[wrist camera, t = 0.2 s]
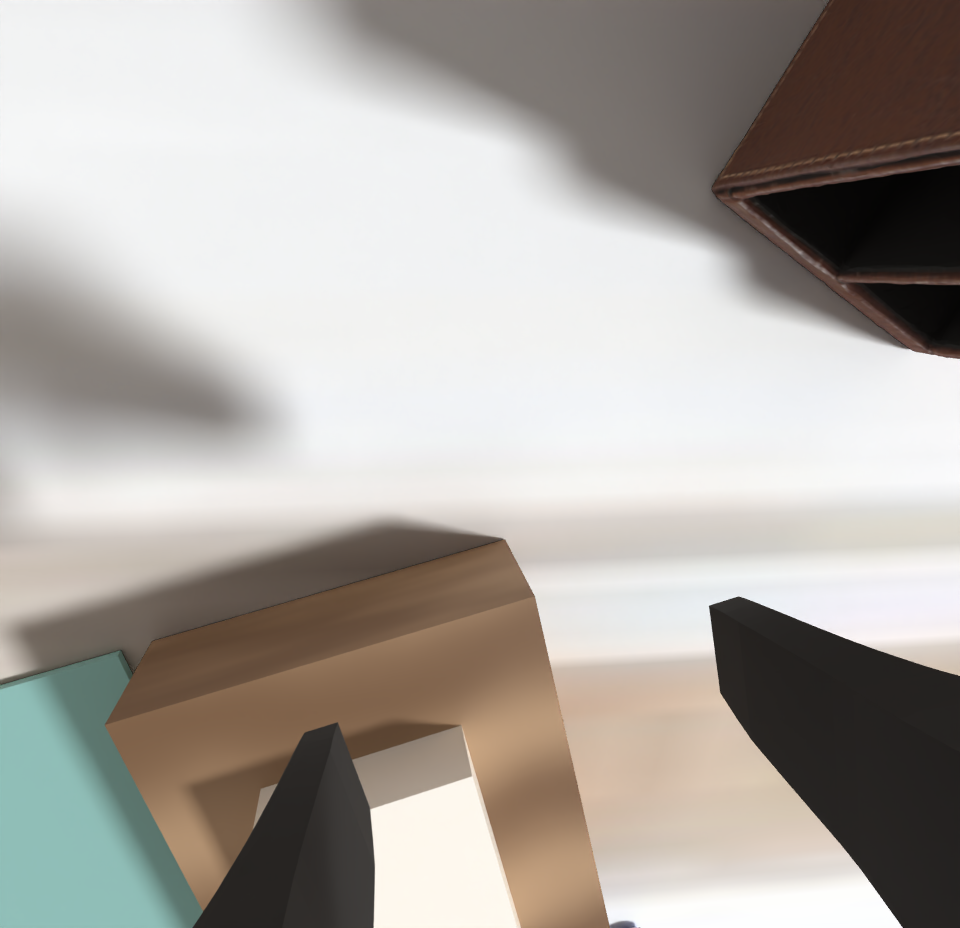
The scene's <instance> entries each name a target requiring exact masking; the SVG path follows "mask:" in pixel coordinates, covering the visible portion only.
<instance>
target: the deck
mask: <svg viewBox="0 0 960 928" xmlns="http://www.w3.org/2000/svg"><path fill="white" fill-rule="evenodd" d="M336 722H338V724H339V727H340V729H341V732H342V735H343V737H344V740H345V743H346V745H347V748H348V751H349V753H350V756H351V758H352V760H353V759H356V758H360V757H363V756H366V755H369V754H372V753H375V752H379V751H382V750H385V749H388V748H391V747H394V746H398V745H401V744H404V743H407V742H410V741H413V740H417V739H420V738H423V737H426V736H429V735H432V734H436V733H439V732H442V731H445V730H448V729H451V728H454V727H458V726H462V729H463V733H464V736H465V739H466V743H467V746H468V750H469V753H470V756H471V760H472V763H473V767H474V770H475V773H476V777H477V780H478V784H479V787H480V790H481V794H482V797H483V801H484V804H485V807H486V811H487V814H488V818H489V821H490V824H491V828H492V831H493V835H494V838H495V841H496V845H497V848H498V852H499V855H500V858H501V862H502V865H503V869H504V872H505V875H506V879H507V882H508V886H509V889H510V892H511V896H512V899H513V903H514V906H515V909H516V913H517V916H518V920H519V923H520V926H521V928H610V926H609V922H608V917H607V913H606V909H605V904H604V900H603V895H602V891H601V887H600V882H599V878H598V873H597V869H596V865H595V860H594V856H593V851H592V847H591V842H590V838H589V834H588V829H587V825H586V820H585V816H584V812H583V807H582V803H581V798H580V794H579V790H578V785H577V781H576V776H575V772H574V767H573V763H572V759H571V754H570V750H569V745H568V741H567V737H566V732H565V728H564V723H563V719H562V715H561V710H560V706H559V701H558V697H557V692H556V688H555V684H554V679H553V675H552V670H551V666H550V662H549V657H548V653H547V648H546V644H545V639H544V635H543V631H542V626H541V622H540V617H539V613H538V609H537V604H536V600H535V596H534V594H533V592H532V590H531V588H530V586H529V584H528V583H527V581H526V579H525V577H524V575H523V573H522V571H521V569H520V567H519V565H518V563H517V562H516V560H515V558H514V556H513V554H512V552H511V550H510V548H509V546H508V544H507V542H506V541H505V539H504V540H501V541H497V542H494V543H491V544H487V545H484V546H480V547H477V548H473V549H470V550H466V551H463V552H459V553H456V554H452V555H449V556H446V557H442V558H439V559H435V560H432V561H428V562H425V563H421V564H418V565H414V566H411V567H407V568H404V569H401V570H397V571H394V572H390V573H387V574H383V575H380V576H376V577H373V578H369V579H366V580H363V581H359V582H356V583H352V584H349V585H345V586H342V587H338V588H335V589H331V590H328V591H324V592H321V593H318V594H314V595H311V596H307V597H304V598H300V599H297V600H293V601H290V602H286V603H283V604H279V605H276V606H273V607H269V608H266V609H262V610H259V611H255V612H252V613H248V614H245V615H241V616H238V617H234V618H231V619H228V620H224V621H221V622H217V623H214V624H210V625H207V626H203V627H200V628H196V629H193V630H189V631H186V632H183V633H179V634H176V635H172V636H169V637H165V638H162V639H158V640H155V641H152V642H151V644H150V646H149V647H148V649H147V651H146V653H145V654H144V656H143V658H142V660H141V662H140V663H139V665H138V667H137V669H136V670H135V672H134V674H133V676H132V677H131V679H130V681H129V683H128V684H127V686H126V688H125V690H124V692H123V693H122V695H121V697H120V699H119V700H118V702H117V704H116V706H115V707H114V709H113V711H112V713H111V715H110V716H109V718H108V720H107V722H106V723H105V727H106V729H107V731H108V733H109V735H110V736H111V738H112V740H113V742H114V744H115V746H116V748H117V750H118V752H119V753H120V755H121V757H122V759H123V761H124V763H125V765H126V767H127V769H128V770H129V772H130V774H131V776H132V778H133V780H134V782H135V784H136V786H137V788H138V789H139V791H140V793H141V795H142V797H143V799H144V801H145V803H146V805H147V806H148V808H149V810H150V812H151V814H152V816H153V818H154V820H155V822H156V823H157V825H158V827H159V829H160V831H161V833H162V835H163V837H164V839H165V840H166V842H167V844H168V846H169V848H170V850H171V852H172V854H173V856H174V857H175V859H176V861H177V863H178V865H179V867H180V869H181V871H182V873H183V874H184V876H185V878H186V880H187V882H188V884H189V886H190V888H191V890H192V892H193V893H194V895H195V897H196V899H197V901H198V903H199V905H200V907H201V909H202V910H203V911H204V910H205V908H206V907H207V905H208V903H209V902H210V900H211V899H212V897H213V896H214V894H215V893H216V891H217V889H218V888H219V886H220V884H221V883H222V881H223V879H224V878H225V876H226V875H227V873H228V871H229V870H230V868H231V866H232V865H233V863H234V861H235V860H236V858H237V856H238V855H239V853H240V851H241V850H242V848H243V846H244V845H245V843H246V841H247V839H248V838H249V836H250V834H251V832H252V830H253V826H254V821H255V816H256V811H257V806H258V801H259V796H260V790H261V789H262V788H265V787H268V786H271V785H274V784H277V783H278V782H279V780H280V778H281V776H282V774H283V772H284V770H285V768H286V766H287V764H288V762H289V760H290V758H291V756H292V754H293V753H294V751H295V749H296V747H297V745H298V743H299V741H300V739H301V737H302V736H303V734H304V733H305V732H308V731H311V730H314V729H317V728H320V727H324V726H327V725H330V724H333V723H336Z"/></svg>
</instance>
